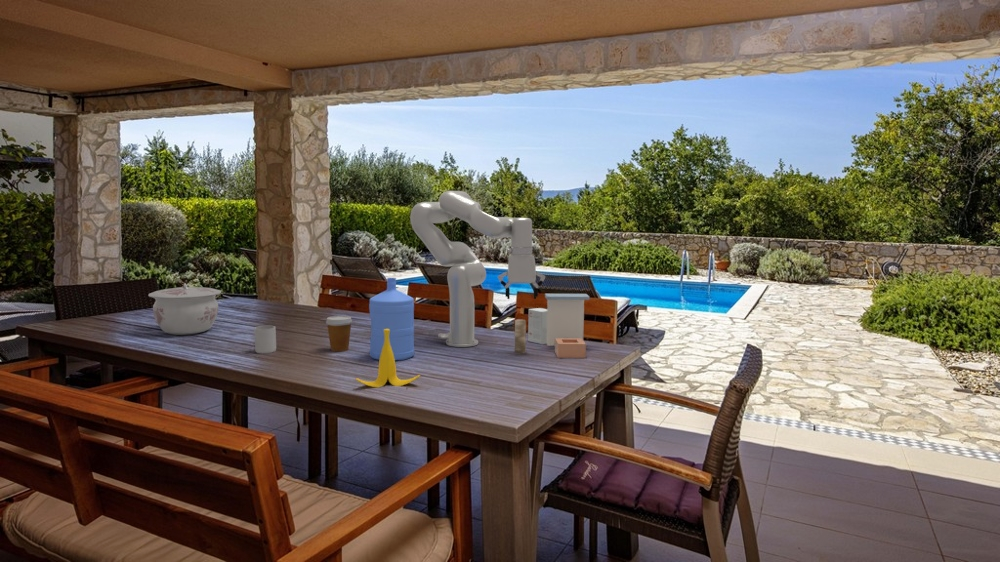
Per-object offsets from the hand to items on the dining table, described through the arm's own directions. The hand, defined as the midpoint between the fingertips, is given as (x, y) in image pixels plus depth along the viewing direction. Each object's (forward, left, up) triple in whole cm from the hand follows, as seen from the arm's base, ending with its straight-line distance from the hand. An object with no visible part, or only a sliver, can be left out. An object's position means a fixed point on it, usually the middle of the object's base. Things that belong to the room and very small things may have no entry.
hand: (521, 298), depth 232 cm
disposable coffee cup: (-67, +3, -20) cm, 70 cm away
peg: (0, 0, -20) cm, 20 cm away
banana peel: (-40, -42, -21) cm, 62 cm away
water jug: (-46, -7, -20) cm, 51 cm away
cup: (-93, +1, -20) cm, 95 cm away
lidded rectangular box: (+18, +10, -20) cm, 29 cm away
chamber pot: (-138, +35, -20) cm, 144 cm away
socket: (+18, -3, -20) cm, 27 cm away
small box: (+9, +19, -20) cm, 29 cm away
